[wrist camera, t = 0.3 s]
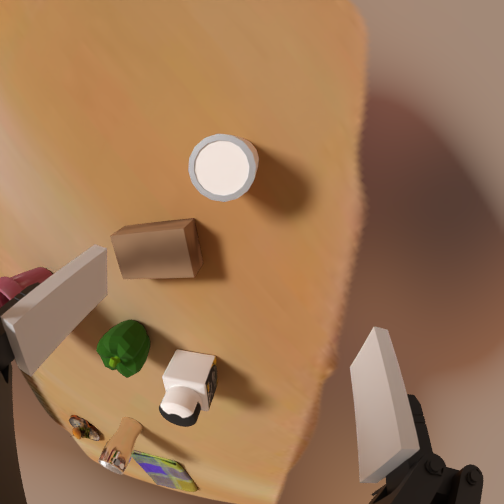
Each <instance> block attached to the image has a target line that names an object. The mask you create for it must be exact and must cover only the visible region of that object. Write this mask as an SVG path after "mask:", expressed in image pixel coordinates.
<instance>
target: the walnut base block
mask: <svg viewBox="0 0 504 504" xmlns="http://www.w3.org/2000/svg"><path fill="white" fill-rule="evenodd" d="M110 237H111V240H112V244H113V247H114V251H115V254H116V258H117V261H118V264H119V267H120V270H121V274H122V277H123V279H156V278H190V277H195V275H196V274H197V272H198V271H199V269H200V268H201V266H202V265H203V259H202V254H201V249H200V245H199V240H198V235H197V230H196V225H195V219H194V218H191V219H181V220H172V221H163V222H154V223H145V224H137V225H129V226H124V227H123V228H121V229H120V230H118V231H117V232H115V233H114V234H112V235H111V236H110Z"/></svg>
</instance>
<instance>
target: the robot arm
mask: <svg viewBox="0 0 504 504" xmlns="http://www.w3.org/2000/svg"><path fill="white" fill-rule="evenodd" d="M106 296H107V248H104V247H101V246H98V245H93V246H92V247H90V248H89V249H88V250H86V251H85V252H83V253H82V254H80V255H79V256H78V257H76V258H75V259H73V260H72V261H71V262H69V263H68V264H66V265H65V266H64V267H62V268H61V269H60V270H58V271H57V272H56V273H54V274H53V275H52V276H50V277H49V278H48V279H46V280H45V281H44V282H42V283H39V282H37V283H34V284H32V285H29V286H27V287H26V288H25V289H23V290H22V291H21V292H20V294H19V293H18V294H17V295H16V296H14V298H12V299H11V300H9V301H8V302H7V303H6V304H5V305H3V306H2V307H1V308H0V504H27V502H26V498H25V493H24V489H23V484H22V479H21V474H20V469H19V463H18V456H17V449H16V441H15V431H14V419H13V402H12V365H11V361H13V360H14V358H15V360H16V362H17V365H18V367H19V368H20V369H21V370H22V371H24V372H25V373H27V374H28V375H30V376H32V375H33V374H34V372H35V371H36V370H37V369H38V368H39V367H40V366H41V364H42V363H43V362H44V361H45V360H46V359H47V358H48V357H49V355H50V354H51V353H52V352H53V351H54V350H55V349H56V348H57V347H58V346H59V344H60V343H61V342H62V341H63V340H64V339H65V338H66V337H67V336H68V335H69V334H70V333H71V332H72V331H73V329H74V328H75V327H76V326H77V325H78V324H79V323H80V322H81V321H82V320H83V319H84V318H85V317H86V316H87V315H88V314H89V313H90V312H91V311H92V310H93V309H94V308H95V307H96V306H97V305H98V304H99V303H100V302H101V301H102V300H103V299H104V298H105V297H106ZM350 371H351V379H352V387H353V396H354V407H355V417H356V427H357V440H358V455H359V475H360V483H378V482H379V481H380V480H382V479H383V478H385V477H386V484H385V485H384V486H383V487H381V488H380V489H378V490H377V491H375V492H374V493H373V494H372V495H373V496H374V495H375V494H376V496H375V497H374V498H373V499H372V500H371V502H370V503H369V504H480V501H481V494H482V488H483V475H482V472H481V471H480V469H479V468H478V467H476V466H475V465H467V466H465V467H464V468H462V469H461V470H460V471H459V470H455V469H452V468H448V467H446V465H445V463H444V461H443V459H442V458H441V457H440V456H438V455H436V454H434V453H433V452H432V448H431V443H430V439H429V435H428V431H427V427H426V424H425V419H424V416H423V412H422V408H421V404H420V403H419V401H418V400H417V398H416V397H415V396H414V395H409V394H407V393H406V389H405V385H404V382H403V378H402V375H401V371H400V368H399V364H398V361H397V358H396V355H395V352H394V348H393V345H392V342H391V339H390V336H389V333H388V330H387V329H382V328H378V327H373V329H372V331H371V333H370V334H369V336H368V338H367V340H366V341H365V343H364V345H363V346H362V348H361V350H360V351H359V353H358V355H357V357H356V358H355V360H354V361H353V363H352V365H351V366H350Z"/></svg>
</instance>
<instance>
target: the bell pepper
mask: <svg viewBox="0 0 504 504" xmlns="http://www.w3.org/2000/svg"><path fill="white" fill-rule="evenodd" d="M146 334H147V333H146V330H145V328H144V326H143V325H141V324H140V323H138V322H137V321H134V320H127V321H123V322H121V323H119V324H117V325H116V326H114V327H113V328H111V329H110V330H109V331H108V332H107V333H105V335H104V336H103V337H102V338H101V339H100V340H99V343H98V345H97V350H96V351H97V352H98V354H99V355H100V356H101V359H102V361H103V363H104V365H105V367H107V368H109V369H111V370H116V369H117V370H118V371H119V372H120V373H121V374H122V375H123V376H125V377H126V378H128V377H130V376H132V375H134V374H136V373H137V372H139V371H140V370H141V368H142V367H143V365H144V363H145V361H146V359H147V356H148V352H149V348H150V339H149V336H147V335H146Z"/></svg>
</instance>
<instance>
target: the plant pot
mask: <svg viewBox="0 0 504 504" xmlns="http://www.w3.org/2000/svg"><path fill="white" fill-rule="evenodd" d="M52 275H53V274H52V273H51V272H50V271H49V270H47V269H45V268H43V267H38V268H35V269H32V270H29V271H26V272H24V273H21V274H18V275H16V276H13V277H11V278H9V277H1V278H0V308H1V307H2V306H3V305H5V304H6V303H7V302H8V301H9V300H11V299H12V298H14V296H16V295H17V294H18V293H19V294H20V292H21V291H22V290H23V289H25V288H26V287H27V286H29V285H32V284H34V283H37V282H39V283H42V282H44V281H45V280H46V279H48V278H49V277H50V276H52Z"/></svg>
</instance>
